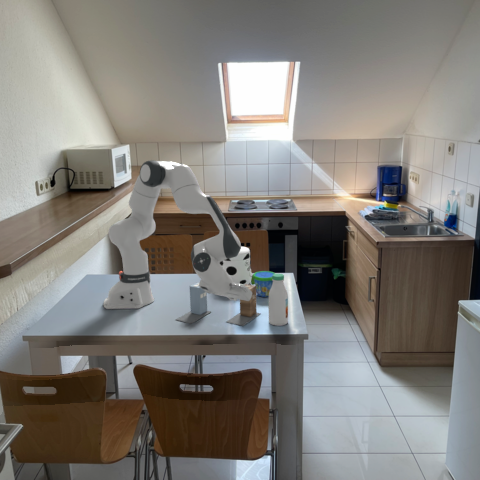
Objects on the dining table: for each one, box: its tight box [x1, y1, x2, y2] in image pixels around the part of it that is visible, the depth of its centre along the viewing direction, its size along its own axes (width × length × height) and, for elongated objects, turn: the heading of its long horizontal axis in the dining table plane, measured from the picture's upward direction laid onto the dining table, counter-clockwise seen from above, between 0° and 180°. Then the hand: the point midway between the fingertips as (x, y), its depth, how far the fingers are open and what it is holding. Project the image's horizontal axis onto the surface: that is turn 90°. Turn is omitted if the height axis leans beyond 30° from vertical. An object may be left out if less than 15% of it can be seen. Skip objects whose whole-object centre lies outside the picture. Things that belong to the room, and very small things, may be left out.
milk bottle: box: [268, 273, 289, 327], centre depth 188 cm, size 8×8×20 cm
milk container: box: [219, 245, 253, 285], centre depth 234 cm, size 17×17×18 cm
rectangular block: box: [189, 282, 208, 315], centre depth 200 cm, size 5×5×12 cm
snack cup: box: [250, 270, 276, 298], centre depth 220 cm, size 16×10×10 cm
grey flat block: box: [175, 310, 212, 325], centre depth 198 cm, size 14×8×1 cm, turn 148°
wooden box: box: [239, 284, 258, 317], centre depth 197 cm, size 5×5×12 cm
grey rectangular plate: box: [225, 312, 261, 327], centre depth 195 cm, size 14×8×1 cm, turn 148°
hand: (234, 298), depth 187 cm, fingers closed
